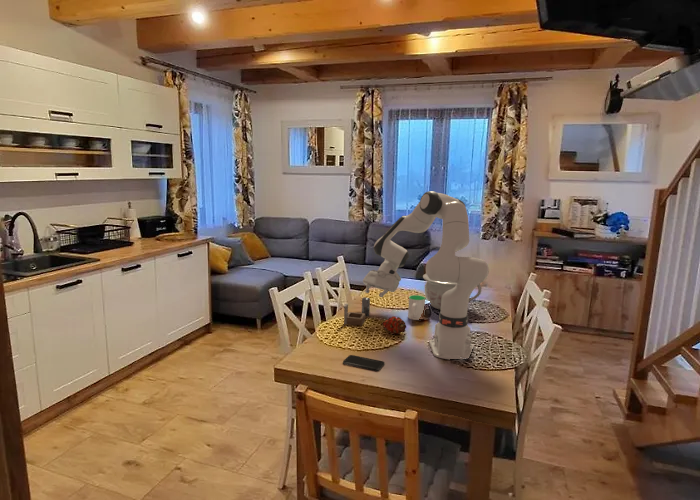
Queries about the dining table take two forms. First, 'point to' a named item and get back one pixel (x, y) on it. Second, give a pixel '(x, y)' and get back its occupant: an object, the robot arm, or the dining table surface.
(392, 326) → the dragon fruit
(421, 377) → the dining table surface
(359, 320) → the keeper
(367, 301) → the steel toggle
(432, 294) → the chamber pot
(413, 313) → the mug
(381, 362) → the phone
